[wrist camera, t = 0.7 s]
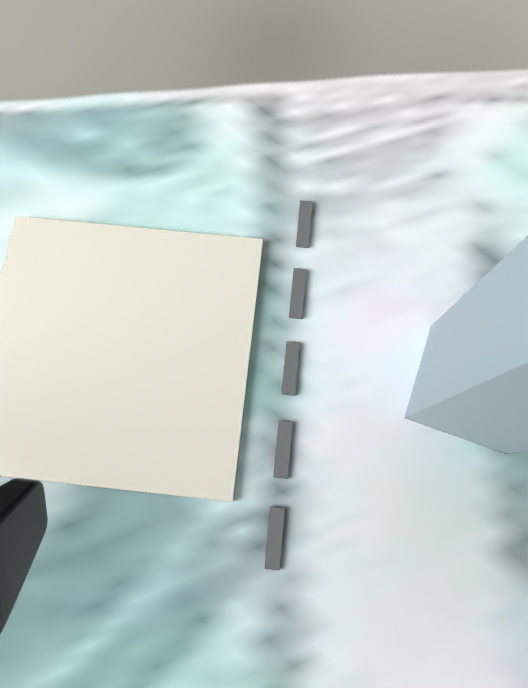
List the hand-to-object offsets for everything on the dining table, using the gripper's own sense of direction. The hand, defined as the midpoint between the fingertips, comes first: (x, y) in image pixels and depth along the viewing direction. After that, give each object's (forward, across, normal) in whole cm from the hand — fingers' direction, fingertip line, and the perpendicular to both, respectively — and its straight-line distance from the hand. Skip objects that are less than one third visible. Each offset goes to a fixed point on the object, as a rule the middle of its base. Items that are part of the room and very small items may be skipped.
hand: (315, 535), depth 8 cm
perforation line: (+14, 0, +4) cm, 15 cm away
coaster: (+14, +8, +4) cm, 17 cm away
